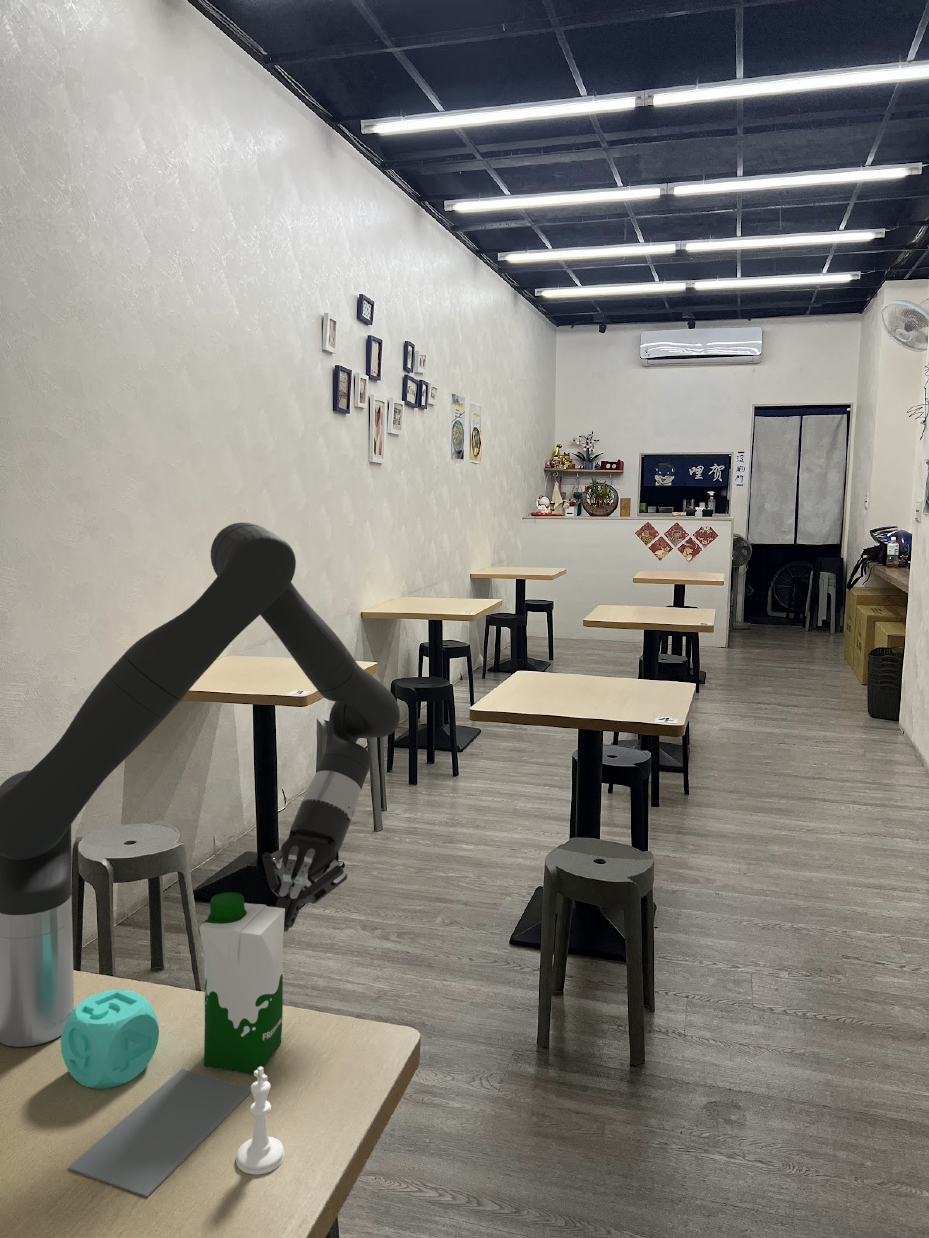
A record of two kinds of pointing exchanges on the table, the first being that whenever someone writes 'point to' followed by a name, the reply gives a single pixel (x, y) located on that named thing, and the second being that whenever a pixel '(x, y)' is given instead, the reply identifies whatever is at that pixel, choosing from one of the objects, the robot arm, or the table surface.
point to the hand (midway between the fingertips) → (279, 928)
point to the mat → (161, 1132)
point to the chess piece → (260, 1134)
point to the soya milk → (242, 983)
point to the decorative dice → (109, 1038)
